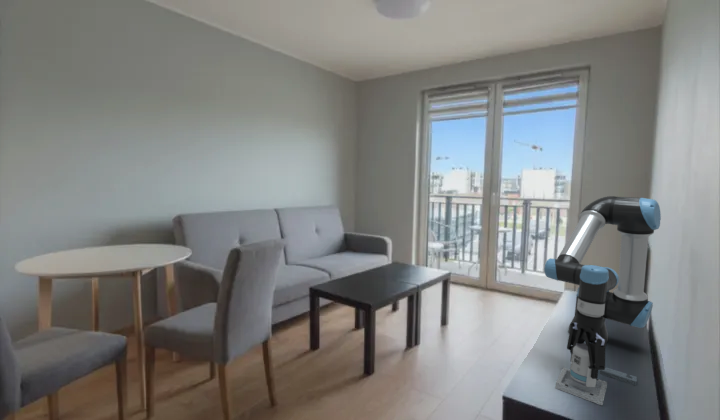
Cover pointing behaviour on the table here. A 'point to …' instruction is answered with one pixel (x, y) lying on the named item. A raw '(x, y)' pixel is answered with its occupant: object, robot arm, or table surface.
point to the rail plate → (581, 388)
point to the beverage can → (580, 363)
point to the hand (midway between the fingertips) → (582, 379)
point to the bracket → (619, 376)
